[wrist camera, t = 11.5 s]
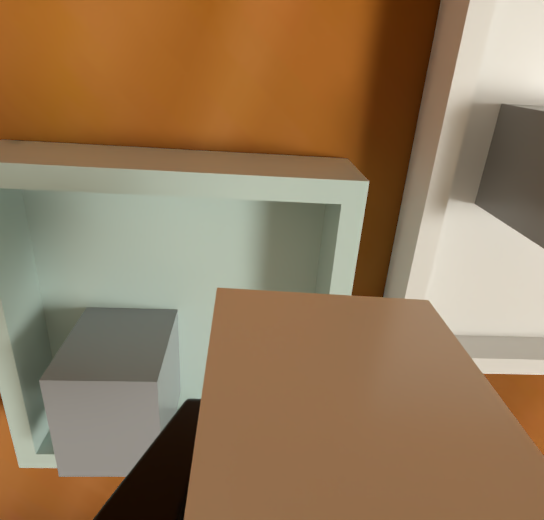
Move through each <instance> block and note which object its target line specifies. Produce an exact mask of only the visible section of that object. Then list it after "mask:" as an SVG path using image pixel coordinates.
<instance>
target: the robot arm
mask: <svg viewBox="0 0 544 520" xmlns="http://www.w3.org/2000/svg"><path fill="white" fill-rule="evenodd" d="M200 403H201V399H196V398H189V399H187V400H185V402H184V403H183V404H182V405H181V407H180V408H179V409H178V410H177V412H176V413H175V414H174V416H173V417H172V418H171V419H170V421H169V422H168V423H167V425H166V426H165V427H164V428H163V430H162V431H161V432H160V434H159V435H158V436H157V438H156V439H155V440H154V441H153V443H152V444H151V445H150V447H149V448H148V449H147V450H146V452H145V453H144V454H143V456H142V457H141V458H140V459H139V461H138V462H137V463H136V465H135V466H134V467H133V468H132V470H131V471H130V472H129V474H128V475H127V476H126V477H125V479H124V480H123V481H122V483H121V484H120V485H119V486H118V488H117V489H116V490H115V492H114V493H113V494H112V496H111V497H110V498H109V499H108V501H107V502H106V503H105V505H104V506H103V507H102V508H101V510H100V511H99V512H98V514H97V515H96V516H95V517H94V519H93V520H184V514H185V507H186V500H187V493H188V487H189V480H190V473H191V466H192V459H193V452H194V445H195V438H196V431H197V424H198V417H199V410H200Z"/></svg>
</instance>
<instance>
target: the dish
mask: <svg viewBox="0 0 544 520" xmlns="http://www.w3.org/2000/svg"><path fill="white" fill-rule="evenodd" d="M368 188H369V180H368V179H367V178H366V177H365V176H364V175H363V174H362V173H361V172H360V171H359V170H358V169H357V168H356V167H355V166H354V165H353V164H352V163H351V162H350V161H349V160H348V159H347V158H331V157H313V156H295V155H276V154H258V153H240V152H222V151H203V150H185V149H167V148H149V147H130V146H112V145H94V144H76V143H57V142H39V141H21V140H3V139H2V140H0V393H1V397H2V401H3V405H4V409H5V413H6V417H7V421H8V425H9V429H10V433H11V436H12V440H13V444H14V448H15V452H16V456H17V460H18V464H19V468H57V464H56V459H55V454H54V449H53V445H52V440H51V435H50V430H49V426H48V421H47V416H46V411H45V406H44V402H43V397H42V392H41V387H40V383H39V380H40V378H41V376H42V375H43V373H44V372H45V370H46V369H47V367H48V366H49V364H50V363H51V361H52V360H53V358H54V357H55V355H56V353H57V352H58V350H59V349H60V347H61V346H62V344H63V343H64V341H65V340H66V338H67V337H68V335H69V333H70V332H71V330H72V329H73V327H74V326H75V324H76V323H77V321H78V320H79V318H80V317H81V315H82V313H83V312H84V310H85V309H86V307H101V308H141V309H178V330H179V356H180V383H181V393H180V398H179V403H178V408H177V410H178V409H179V408H180V407H181V405H182V404H183V403H184V402H185V400H187V399H189V398H196V399H201V396H202V389H203V382H204V375H205V368H206V361H207V354H208V347H209V340H210V333H211V326H212V319H213V312H214V305H215V298H216V291H217V288H233V289H250V290H267V291H284V292H301V293H318V294H335V295H351V294H352V288H353V281H354V275H355V269H356V263H357V256H358V250H359V244H360V238H361V231H362V225H363V219H364V213H365V206H366V200H367V194H368Z"/></svg>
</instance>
